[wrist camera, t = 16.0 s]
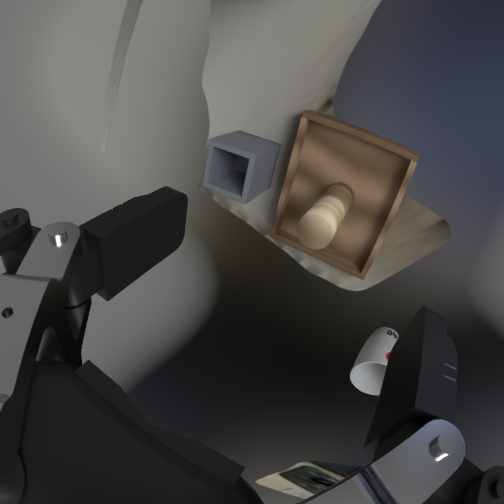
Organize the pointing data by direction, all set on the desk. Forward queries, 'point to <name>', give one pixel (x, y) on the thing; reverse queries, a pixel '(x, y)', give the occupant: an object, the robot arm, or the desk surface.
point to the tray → (351, 173)
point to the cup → (373, 361)
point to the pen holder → (240, 165)
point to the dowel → (325, 216)
